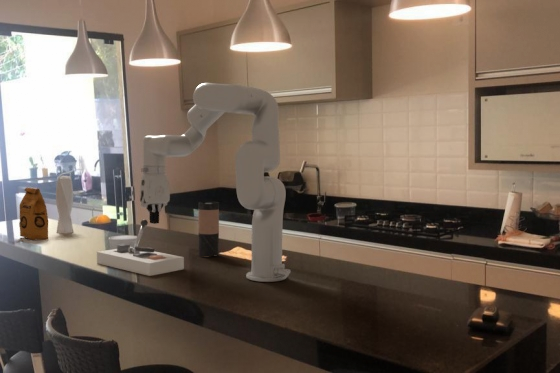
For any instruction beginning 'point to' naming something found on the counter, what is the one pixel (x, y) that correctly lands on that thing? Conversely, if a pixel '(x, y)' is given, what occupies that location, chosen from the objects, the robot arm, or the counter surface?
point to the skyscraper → (64, 203)
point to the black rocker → (144, 249)
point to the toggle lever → (139, 234)
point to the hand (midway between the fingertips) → (154, 223)
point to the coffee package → (33, 215)
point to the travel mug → (208, 228)
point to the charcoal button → (123, 248)
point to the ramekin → (121, 241)
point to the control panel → (140, 261)
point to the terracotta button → (156, 257)
